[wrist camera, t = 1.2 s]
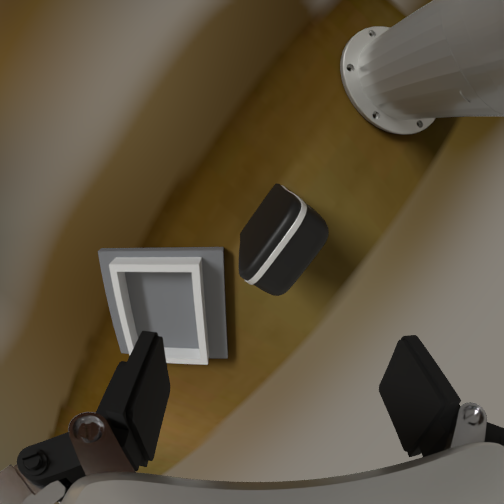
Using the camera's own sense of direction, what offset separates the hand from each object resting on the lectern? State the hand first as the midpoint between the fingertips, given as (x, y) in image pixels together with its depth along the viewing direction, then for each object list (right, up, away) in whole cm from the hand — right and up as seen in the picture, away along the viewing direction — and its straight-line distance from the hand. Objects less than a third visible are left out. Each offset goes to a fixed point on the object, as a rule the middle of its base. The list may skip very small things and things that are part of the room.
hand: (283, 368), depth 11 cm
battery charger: (+1, +8, +19) cm, 21 cm away
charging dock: (-11, -2, +22) cm, 25 cm away
